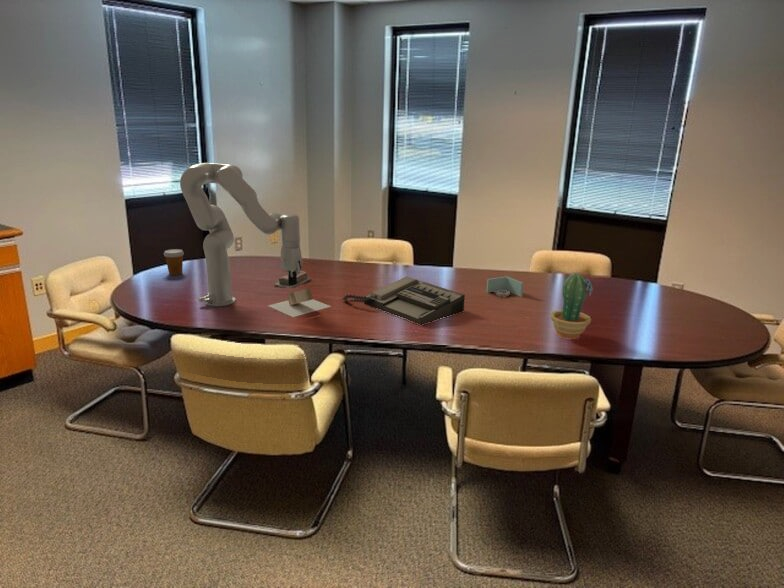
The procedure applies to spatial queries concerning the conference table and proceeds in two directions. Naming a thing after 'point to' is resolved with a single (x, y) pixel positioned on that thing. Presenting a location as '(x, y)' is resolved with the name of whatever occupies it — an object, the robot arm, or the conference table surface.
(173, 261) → the disposable coffee cup
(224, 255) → the robot arm
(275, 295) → the conference table surface
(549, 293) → the conference table surface
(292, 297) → the maple block
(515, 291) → the l-shaped corner panel
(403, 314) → the fax machine
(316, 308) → the mat
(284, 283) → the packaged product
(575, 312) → the potted cactus
